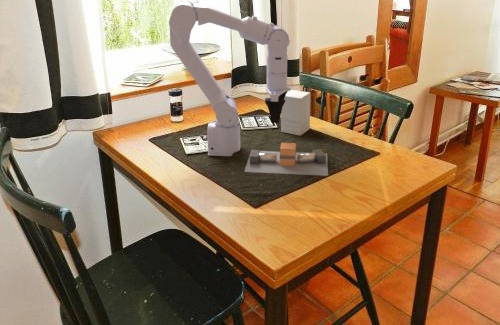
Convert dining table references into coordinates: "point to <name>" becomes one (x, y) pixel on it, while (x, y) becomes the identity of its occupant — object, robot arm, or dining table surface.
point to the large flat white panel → (288, 167)
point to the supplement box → (296, 112)
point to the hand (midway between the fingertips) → (276, 118)
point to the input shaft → (262, 157)
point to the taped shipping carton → (288, 154)
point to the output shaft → (312, 157)
